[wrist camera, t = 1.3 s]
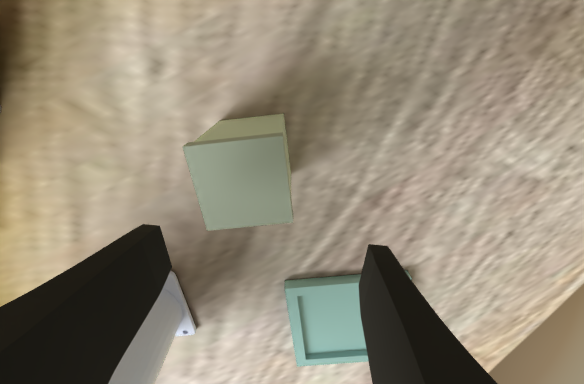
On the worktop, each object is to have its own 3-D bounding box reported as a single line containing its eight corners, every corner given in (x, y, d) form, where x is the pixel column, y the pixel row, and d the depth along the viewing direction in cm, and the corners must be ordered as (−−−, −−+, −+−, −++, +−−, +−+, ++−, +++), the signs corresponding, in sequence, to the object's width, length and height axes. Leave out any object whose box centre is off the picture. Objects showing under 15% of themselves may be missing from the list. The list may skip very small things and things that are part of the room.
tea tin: (231, 181, 20) (207, 230, 14) (218, 119, 18) (182, 146, 12) (292, 174, 20) (293, 222, 14) (285, 111, 18) (282, 135, 12)
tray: (296, 357, 29) (297, 366, 28) (284, 280, 24) (284, 288, 24) (399, 349, 29) (402, 358, 28) (407, 270, 24) (411, 278, 23)
